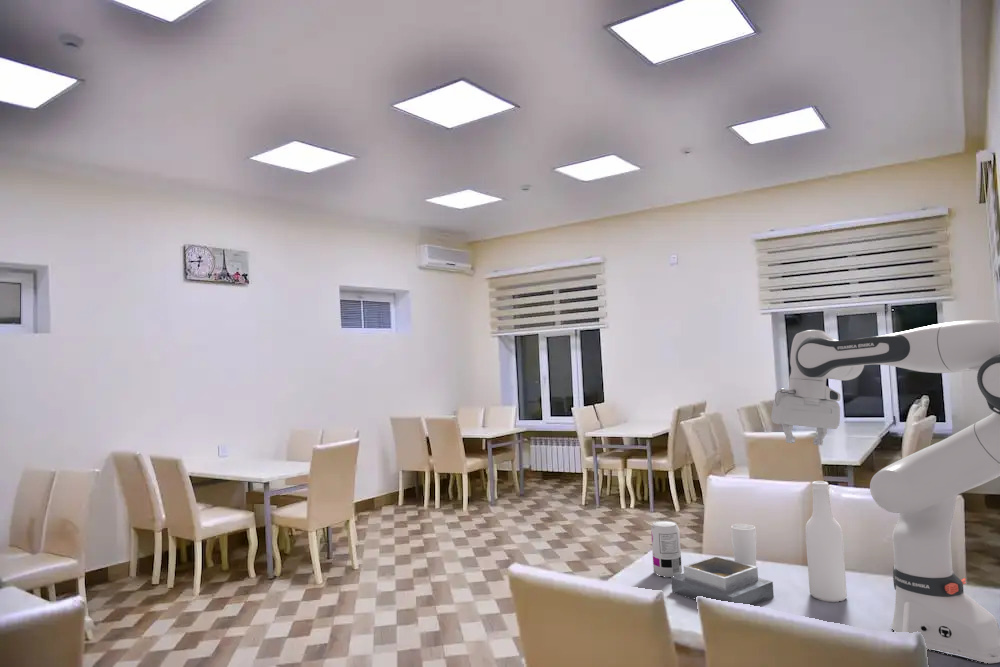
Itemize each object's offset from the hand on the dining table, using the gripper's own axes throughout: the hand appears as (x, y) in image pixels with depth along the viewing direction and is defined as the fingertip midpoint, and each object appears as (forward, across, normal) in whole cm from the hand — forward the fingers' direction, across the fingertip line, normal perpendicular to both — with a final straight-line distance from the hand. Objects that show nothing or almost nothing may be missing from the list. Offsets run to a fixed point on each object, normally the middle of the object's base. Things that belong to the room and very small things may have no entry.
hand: (804, 444), depth 169 cm
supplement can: (+44, -14, +36) cm, 58 cm away
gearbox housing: (+43, -11, +15) cm, 47 cm away
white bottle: (+40, +12, +1) cm, 41 cm away
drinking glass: (+41, +3, +21) cm, 46 cm away
